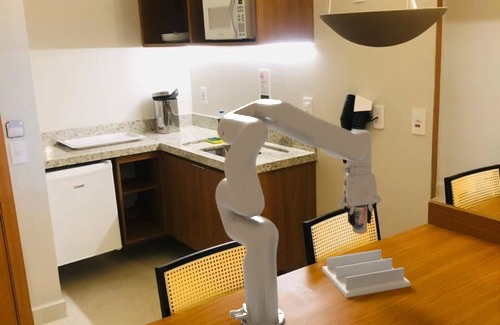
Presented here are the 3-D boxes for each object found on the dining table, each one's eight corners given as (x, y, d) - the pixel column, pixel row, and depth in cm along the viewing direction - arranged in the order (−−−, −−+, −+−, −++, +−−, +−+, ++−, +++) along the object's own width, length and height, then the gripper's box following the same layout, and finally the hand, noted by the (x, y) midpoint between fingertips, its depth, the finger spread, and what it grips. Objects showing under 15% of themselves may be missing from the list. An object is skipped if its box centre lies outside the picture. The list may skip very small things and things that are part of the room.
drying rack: (346, 297, 162) (345, 281, 160) (322, 270, 180) (321, 256, 179) (410, 286, 166) (410, 270, 165) (380, 261, 185) (380, 246, 184)
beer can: (350, 233, 168) (349, 198, 165) (355, 228, 172) (354, 193, 169) (365, 235, 166) (364, 199, 163) (369, 230, 170) (369, 195, 167)
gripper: (338, 175, 159) (339, 231, 163) (389, 169, 162) (389, 223, 167) (329, 169, 166) (330, 223, 170) (378, 163, 169) (378, 216, 174)
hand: (359, 222), depth 169 cm, fingers closed on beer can, 4 cm apart
